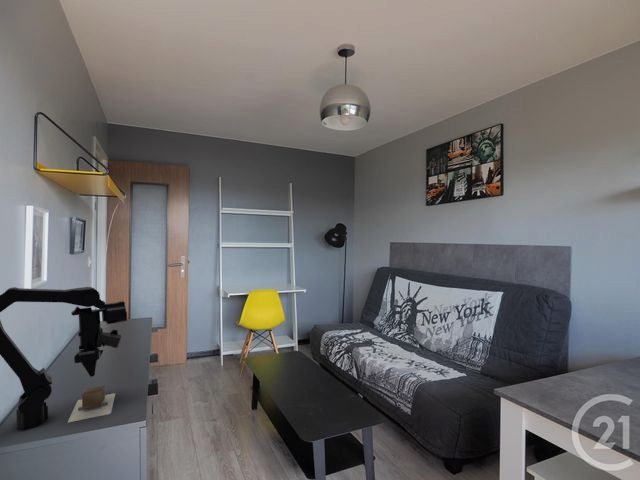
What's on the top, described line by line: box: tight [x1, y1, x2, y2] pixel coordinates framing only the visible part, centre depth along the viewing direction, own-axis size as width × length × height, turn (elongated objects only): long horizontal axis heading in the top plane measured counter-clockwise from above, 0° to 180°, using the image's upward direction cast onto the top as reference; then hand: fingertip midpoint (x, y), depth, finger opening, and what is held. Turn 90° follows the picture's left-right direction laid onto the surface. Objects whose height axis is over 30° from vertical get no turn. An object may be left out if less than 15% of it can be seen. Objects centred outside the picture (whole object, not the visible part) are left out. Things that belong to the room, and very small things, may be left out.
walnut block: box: [81, 385, 106, 409], centre depth 119 cm, size 4×5×9 cm
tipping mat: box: [67, 392, 116, 423], centre depth 118 cm, size 17×11×2 cm, turn 25°
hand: (92, 376), depth 117 cm, fingers closed
